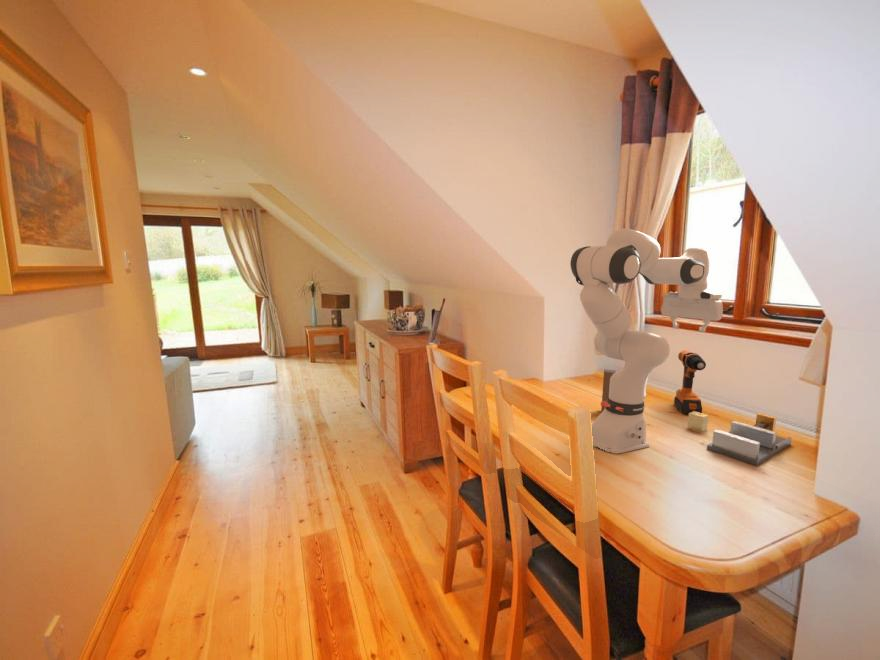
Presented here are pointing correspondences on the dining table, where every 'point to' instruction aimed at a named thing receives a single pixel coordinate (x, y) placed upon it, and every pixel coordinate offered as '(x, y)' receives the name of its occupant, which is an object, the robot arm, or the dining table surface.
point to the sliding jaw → (757, 430)
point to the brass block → (697, 421)
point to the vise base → (761, 454)
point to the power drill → (689, 383)
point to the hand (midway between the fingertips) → (688, 330)
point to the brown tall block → (606, 385)
